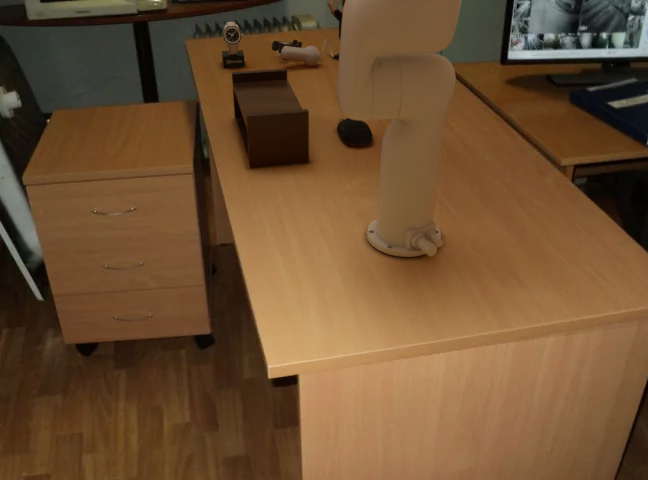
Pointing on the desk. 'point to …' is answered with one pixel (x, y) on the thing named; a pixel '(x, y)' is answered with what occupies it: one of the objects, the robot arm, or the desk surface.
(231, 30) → the watch
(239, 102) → the shelf
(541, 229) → the desk surface
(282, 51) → the clip-on lamp
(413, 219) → the robot arm
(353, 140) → the gaming mouse
